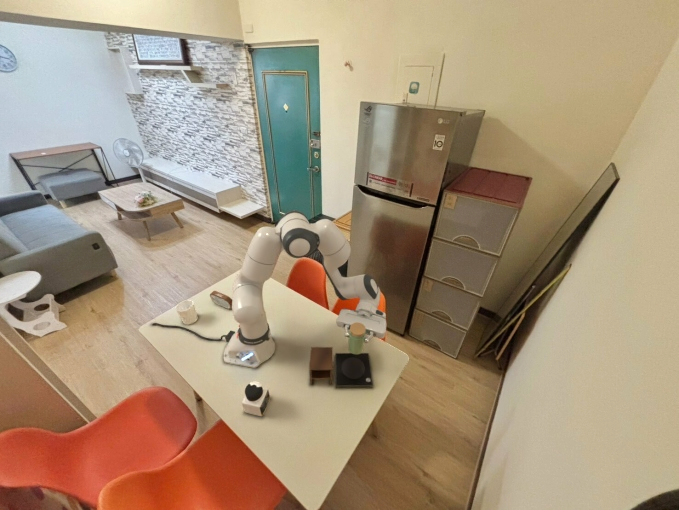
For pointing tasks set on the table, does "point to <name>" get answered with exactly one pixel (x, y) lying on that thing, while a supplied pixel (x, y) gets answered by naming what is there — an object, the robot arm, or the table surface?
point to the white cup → (187, 311)
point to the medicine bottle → (255, 398)
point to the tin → (221, 299)
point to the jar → (356, 338)
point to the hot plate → (353, 370)
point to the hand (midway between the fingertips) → (356, 339)
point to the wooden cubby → (321, 363)
